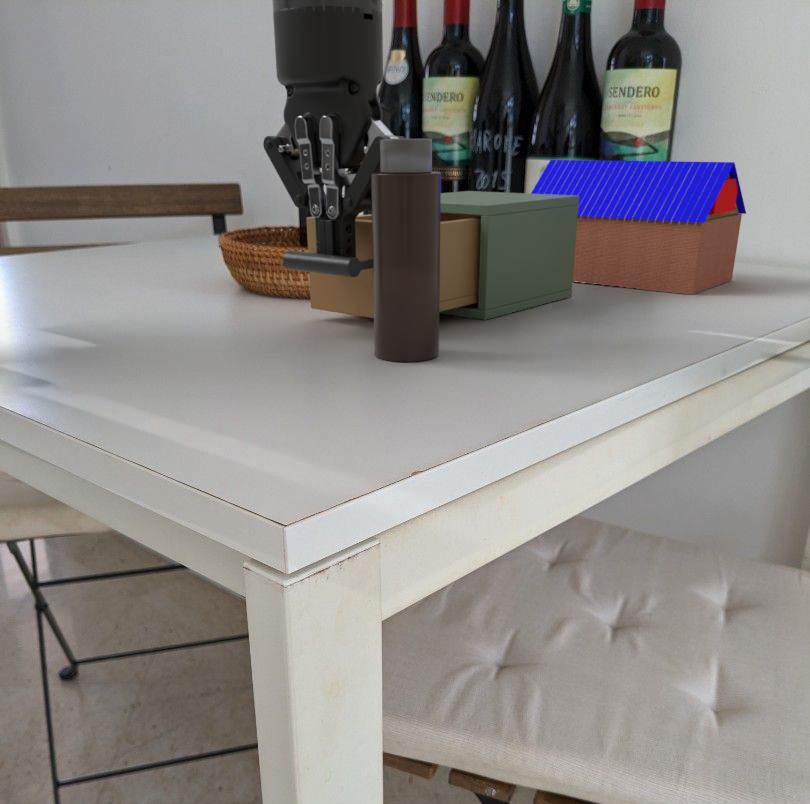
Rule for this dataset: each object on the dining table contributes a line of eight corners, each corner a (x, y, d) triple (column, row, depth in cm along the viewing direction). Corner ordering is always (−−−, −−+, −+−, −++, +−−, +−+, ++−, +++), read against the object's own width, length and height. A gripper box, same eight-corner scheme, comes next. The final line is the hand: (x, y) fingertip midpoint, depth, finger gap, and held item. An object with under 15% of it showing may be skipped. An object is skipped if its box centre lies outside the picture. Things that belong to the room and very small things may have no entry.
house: (568, 264, 103) (576, 158, 98) (735, 279, 92) (754, 160, 86) (516, 277, 94) (522, 161, 89) (694, 295, 83) (712, 164, 78)
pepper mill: (361, 355, 61) (355, 139, 55) (402, 344, 64) (401, 138, 58) (411, 365, 58) (410, 139, 52) (451, 353, 62) (455, 138, 56)
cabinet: (485, 320, 72) (489, 205, 68) (373, 303, 80) (371, 199, 76) (571, 296, 83) (579, 195, 79) (465, 284, 90) (468, 190, 86)
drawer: (372, 335, 63) (370, 230, 60) (267, 317, 69) (260, 221, 66) (510, 300, 76) (514, 212, 73) (411, 288, 82) (410, 206, 79)
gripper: (222, 11, 60) (243, 267, 68) (362, -8, 52) (368, 284, 60) (299, 20, 65) (311, 257, 73) (437, 5, 58) (434, 272, 65)
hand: (337, 269), depth 66 cm, fingers closed
